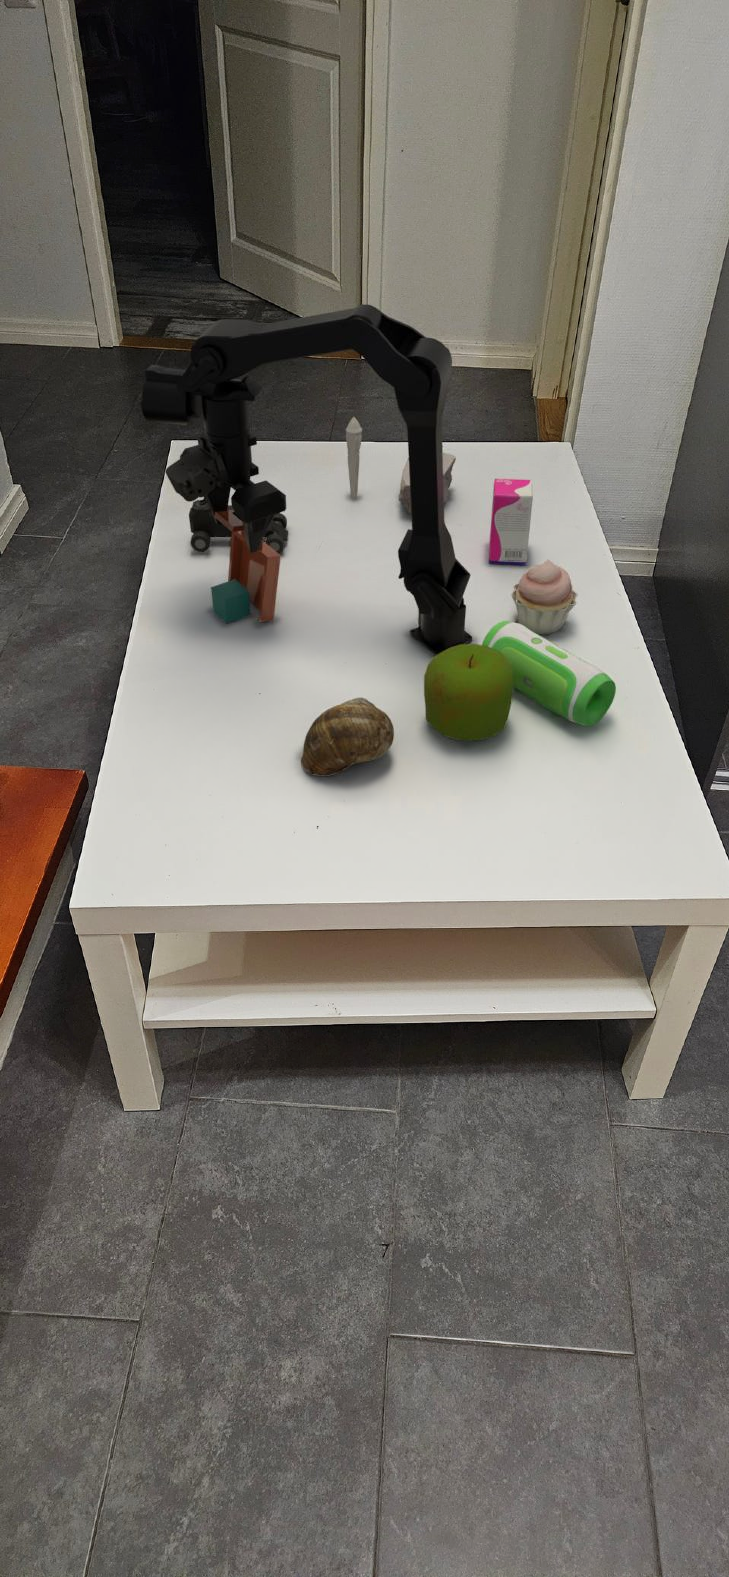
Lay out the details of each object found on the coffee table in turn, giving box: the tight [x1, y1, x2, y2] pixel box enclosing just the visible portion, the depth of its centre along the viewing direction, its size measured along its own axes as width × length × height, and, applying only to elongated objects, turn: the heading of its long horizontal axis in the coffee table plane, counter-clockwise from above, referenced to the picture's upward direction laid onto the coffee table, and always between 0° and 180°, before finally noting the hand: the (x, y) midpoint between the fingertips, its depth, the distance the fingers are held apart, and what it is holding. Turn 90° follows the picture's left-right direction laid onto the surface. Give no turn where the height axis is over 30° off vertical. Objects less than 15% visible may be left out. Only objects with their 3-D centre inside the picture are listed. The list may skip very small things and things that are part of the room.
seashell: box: [300, 697, 395, 777], centre depth 128 cm, size 11×9×8 cm
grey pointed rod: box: [345, 416, 363, 500], centre depth 176 cm, size 2×3×14 cm
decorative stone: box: [398, 452, 457, 517], centre depth 177 cm, size 15×7×10 cm
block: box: [210, 579, 252, 624], centre depth 153 cm, size 4×4×4 cm
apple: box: [423, 643, 515, 742], centre depth 132 cm, size 11×11×11 cm
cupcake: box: [510, 559, 579, 635], centre depth 149 cm, size 9×9×10 cm
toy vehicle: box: [188, 496, 289, 555], centre depth 167 cm, size 8×15×9 cm, turn 90°
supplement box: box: [488, 478, 534, 566], centre depth 163 cm, size 6×6×12 cm
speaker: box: [481, 620, 617, 727], centre depth 138 cm, size 18×7×8 cm, turn 42°
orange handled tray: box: [215, 510, 282, 623], centre depth 151 cm, size 10×14×6 cm
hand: (236, 537), depth 148 cm, fingers open, 9 cm apart
